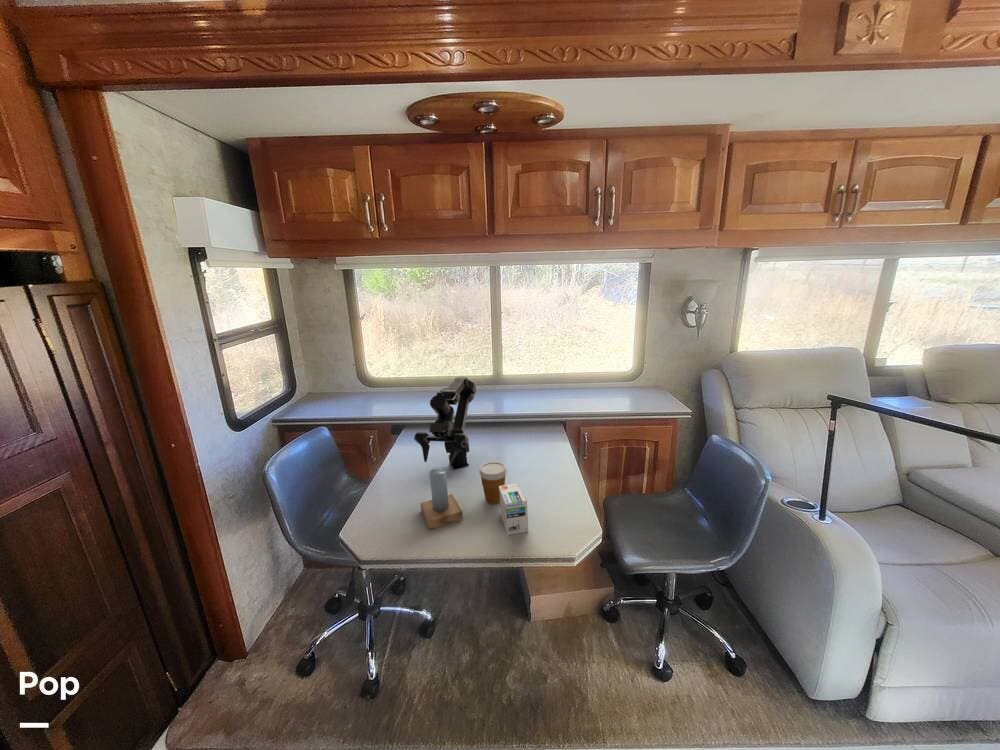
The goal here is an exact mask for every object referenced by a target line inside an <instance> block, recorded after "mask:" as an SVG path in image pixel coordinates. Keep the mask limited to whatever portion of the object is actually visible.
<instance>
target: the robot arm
mask: <svg viewBox="0 0 1000 750" xmlns="http://www.w3.org/2000/svg"><path fill="white" fill-rule="evenodd" d="M476 393H477V388H476V385H475V382H473V381H471V380H469V378H468V377H466V376H457V377H455V378H454V381H453V382H452V383H451V384H450V385H449V386H448V387H445V388H441V389H440V390H439V392H437V393H436V395H434V396H433V397H432V398H431V400H429V405H430V408H431V409H432V410H433V412H434V413H435V414H436V415H437V416H436V417H437V418H436V419H435V422H433V423H432V422H430V423H429V429H428V430H429V433H431V435H430V434H429V433H427V432H424V431H423V432H421V431H420V432H419V431H417V432H416V433H415V434H414V438H413V440H414V441H415V442H417V444H418V445H419V446H420V447H421V449H422V456H423V462H424V463H427V461H428V456H429V453H430V447H431V445H430V443H431V442H441V443H442V442H444V448H445V451H446V454H448V453H449V454H448V460H449V461H448V462H449V465H450V467H451V468H452V469H453V470H458V469H462V468H465V467H468V466H469V463H468V458H467V454H468V453H469V452H470V443H469V438H468V436H467V435H466V434H465V432H464V431H465V426H466V421H467V416H468V410H469V405H470V403H471V402H472V401H473V400H474V398H475V395H476ZM452 405H453V406H454V405H455V406H456V405H457V406H456V412H455V409H454V407H453V406H452ZM454 415H455V418H454ZM453 419H454V421H453Z"/></svg>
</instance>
